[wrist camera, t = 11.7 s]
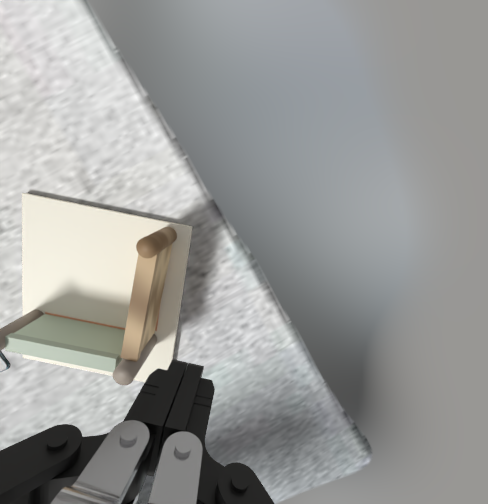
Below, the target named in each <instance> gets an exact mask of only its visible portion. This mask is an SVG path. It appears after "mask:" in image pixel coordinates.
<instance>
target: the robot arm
mask: <svg viewBox="0 0 488 504" xmlns="http://www.w3.org/2000/svg"><path fill="white" fill-rule="evenodd" d="M187 365H188V366H187ZM203 368H204V366H200V365H196V364H191V363H189V364H188V363H186V362H182V361H178V360H172V361H171V363H170V365H169V367H168V370H163V369H159V368H158V369H156V370H155V371H154V372H152V373H151V374H150V375H149V376H148V378H147V380H146V382H145V384H144V385H143V387H142V389H141V391H140V393H139V394H138V396H137V398H136V400H135V401H134V403H133V405H132V407H131V409H130V410H129V412H128V414H127V416H126V418H125V419H124V421H123V422H121V423H119V424H118V425H116V426H115V427H114V428H113V429H112V430H111V431H110V432H109V433H107V434H104V435H99V436H89V437H82V434H81V431H80V430H79V429H78V428H77V427H75V426H73V425H68V424H63V425H57V426H54V427H52V428H49V429H47V430H45V431H43V432H40V433H38V434H36V435H34V436H32V437H29V438H27V439H25V440H23V441H21V442H19V443H16V444H14V445H12V446H10V447H8V448H5V449H3V450H1V451H0V504H136V502H137V500H138V497H139V492H140V491H141V489H142V486H143V483H144V481H145V478H146V475H149V476H154V473H155V470H156V474H155V479H154V483H153V486H152V490H151V494H150V497H149V501H148V504H274V502H273V501H272V499H271V498H270V496H269V495H268V493H267V492H266V490H265V488H264V487H263V485H262V484H261V482H260V481H259V479H258V478H257V476H256V474H255V473H254V472H253V471H252V470H251V469H250V468H249V467H248V466H246V465H244V464H241V463H231V464H228V465H227V466H225V467H224V466H222V465H221V464H219V463H217V462H216V461H215V460H213V459H212V458H211V457H210V455H209V454H208V452H207V450H206V448H205V435H206V430H207V425H208V420H209V415H210V410H211V405H212V400H213V395H214V390H215V389H214V386H213V383H212V380H208V379H204V378H201V377H202V372H203ZM156 467H157V469H156Z"/></svg>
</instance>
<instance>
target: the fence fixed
mask: <svg viewBox="0 0 488 504" xmlns="http://www.w3.org/2000/svg"><path fill="white" fill-rule="evenodd" d="M124 334H125V330H122V329H117V328H112V327H107V326H102V325H97V324H92V323H88V322H83V321H78V320H73V319H68V318H63V317H58V316H53V315H48V314H44V313H43V312H42V311H40V310H33V311H31V312H29V313H27V314H26V315H24V316H22V317H20V318H19V319H17V320H15V321H13V322H12V323H10V324H8V325H6V326H5V327H3V328H1V329H0V350H2V349H3V348H6V351H9V352H14V353H19V354H24V355H29V356H34V357H39V358H44V359H49V360H54V361H59V362H64V363H69V364H74V365H78V366H83V367H88V368H93V369H98V370H103V371H108V372H113V378H114V380H115V381H116V382H117V383H118V384H121V385H128V384H130V383H131V382H132V381H133V380H134V378H135V376H136V375H137V373H138V372H139V370H140V369H141V367H142V365H143V364H144V362H145V361H146V359H147V357H148V356H149V354H150V353H151V351H152V349H153V348H154V346H155V345H156V343H157V337H156V335H155V334H153V336H152V337H151V338H150V340H149V341H148V343H147V344H146V346H145V347H144V349H143V350H142V352H141V353H140V358H139V359H138V361H137V362H135V361H131V360H127V359H123V358H120V357H121V351H122V346H123V340H124Z"/></svg>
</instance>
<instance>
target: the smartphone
mask: <svg viewBox="0 0 488 504" xmlns="http://www.w3.org/2000/svg"><path fill="white" fill-rule="evenodd" d="M9 367H10V364H9V362H8V361H7V359H6V358H5V357H4V355H3V354H2V353H1V352H0V372H2V371H4V370H7V369H8V368H9Z"/></svg>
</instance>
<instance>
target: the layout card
mask: <svg viewBox="0 0 488 504" xmlns="http://www.w3.org/2000/svg"><path fill="white" fill-rule="evenodd" d="M164 227H171V228H173V229H174V230H175V231H176V233H177V239H176V241H175V242H173V244H172V249H171V254H170V259H169V264H168V269H167V274H166V279H165V284H164V289H163V293H162V298H161V303H160V308H159V313H158V318H157V323H156V328H155V333H154V334H155V335H156V337H157V343H156V345H155V346H154V348H153V349H152V351H151V353H150V354H149V356H148V357H147V359H146V361H145V362H144V364H143V365H142V367H141V369H140V370H139V372H138V373H137V375H136V376H135V378H134V380H135V381H140V382H146V380H147V378H148V376H149V375H150V374H151V373H152V372H154V371H155V370H156V369H158V368H159V369H163V370H168V367H169V365H170V363H171V361H172V360H173V355H174V349H175V342H176V335H177V329H178V322H179V315H180V309H181V302H182V295H183V289H184V282H185V275H186V269H187V262H188V255H189V249H190V242H191V236H192V229H193V226H188V225H183V224H178V223H173V222H168V221H163V220H158V219H153V218H148V217H143V216H138V215H133V214H128V213H123V212H118V211H114V210H109V209H104V208H99V207H94V206H89V205H84V204H79V203H74V202H69V201H64V200H59V199H54V198H49V197H44V196H39V195H34V194H29V193H22V301H23V316H24V315H26V314H27V313H29V312H31V311H33V310H40V311H42V312H43V313H44V314H48V315H53V316H58V317H63V318H68V319H73V320H78V321H83V322H88V323H92V324H97V325H102V326H107V327H112V328H117V329H122V330H125V328H126V322H127V317H128V311H129V305H130V299H131V293H132V288H133V282H134V276H135V270H136V264H137V259H138V252H137V249H136V245H137V242H138V241H139V240H140V239H141V238H143V237H146V236H148V235H150V234H152V233H154V232H156V231H158V230H160V229H162V228H164ZM23 358H26V359H31V360H36V361H41V362H46V363H51V364H56V365H61V366H66V367H71V368H76V369H81V370H86V371H91V372H96V373H101V374H106V375H111V376H113V372H108V371H103V370H98V369H93V368H88V367H83V366H78V365H74V364H69V363H64V362H59V361H54V360H49V359H44V358H39V357H34V356H29V355H24V354H23Z"/></svg>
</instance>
